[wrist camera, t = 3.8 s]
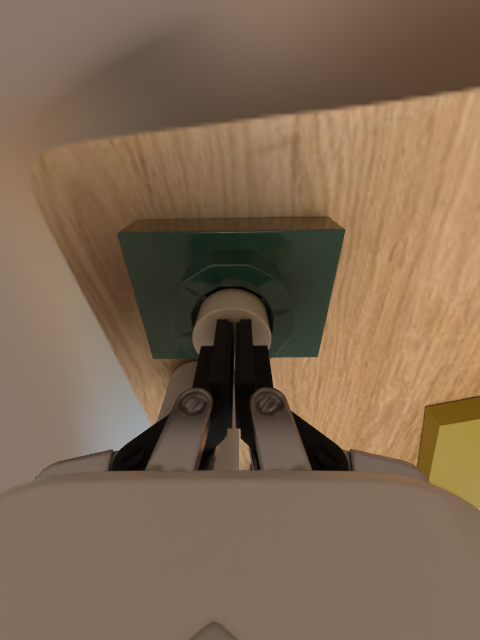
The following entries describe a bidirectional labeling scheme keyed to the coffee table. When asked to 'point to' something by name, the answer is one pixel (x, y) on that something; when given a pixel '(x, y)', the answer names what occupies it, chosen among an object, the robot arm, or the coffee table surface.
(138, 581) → the robot arm
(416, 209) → the coffee table surface
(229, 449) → the beverage can
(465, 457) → the flat olive board
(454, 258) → the coffee table surface
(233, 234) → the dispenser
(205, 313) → the cylinder
